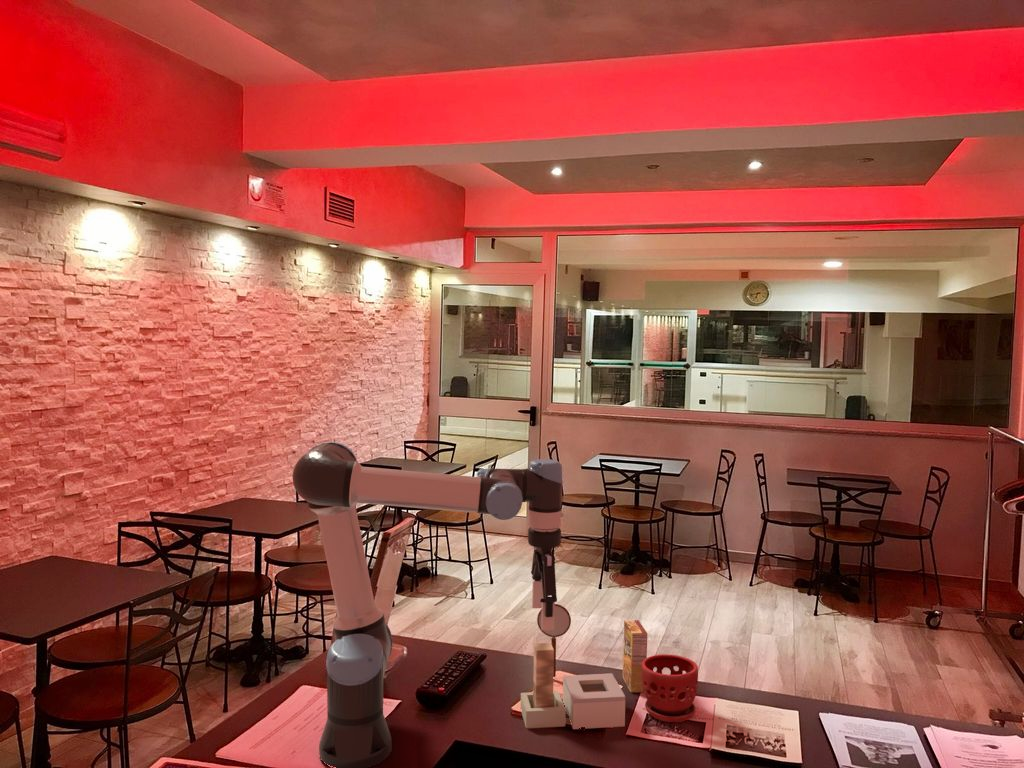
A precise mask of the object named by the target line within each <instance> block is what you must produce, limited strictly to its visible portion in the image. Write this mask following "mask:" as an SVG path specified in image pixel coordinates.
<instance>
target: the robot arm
mask: <svg viewBox="0 0 1024 768" xmlns="http://www.w3.org/2000/svg"><path fill="white" fill-rule="evenodd" d="M292 484H293V488H294V490H295V491H296V493H297V494H298V496H299V497H300V498H302V499H303V500H304V501H306V502H307V506H308V509H309V510H310V511H311V512H312V513H314V514H316V515H317V519H318V524H319V530H320V534H321V539H322V540H321V541H322V544H323V549H324V554H325V558H326V559H325V560H326V564H327V570H328V573H329V579H330V583H331V584H330V585H331V589H332V594H333V598H334V599H333V600H334V604H335V610H336V613H337V616H336V617H335V619H334V621H333V622H332V630H333V633H334V635H333V636H334V638H335V641H333V642H332V643H331V645H330V646H329V648H328V649H327V655H326V656H327V657H326V660H325V666H326V667H325V668H326V691H327V692H326V697H327V699H326V701H327V703H326V704H327V705H326V706H327V709H326V710H327V716H326V717H327V718H326V721H325V724H324V728H323V731H322V735H321V737H320V741H319V745H318V756H319V755H320V757H319V759H320V758H321V759H322V761H323V762H325V763H326V764H328V765H330V766H333V767H336V768H366V767H369V766H373V765H375V766H377V765H379V764H381V763H382V762H383V760H384V761H385V760H386V759H387V758H388V757H389V756H390V755H391V753H390V752H392V749H393V748H392V736H391V731H390V730H389V729H390V728H389V727H388V723H387V720H386V718H385V716H384V715H385V714H384V676H385V673H386V669H387V665H388V662H389V659H390V656H391V655H392V654H391V653H392V650H393V635H392V632H391V629H390V627H389V625H388V624H387V623H386V619H385V612H384V610H383V609H382V608H380V607H378V606H376V602H375V598H374V593H373V588H372V584H371V583H372V582H371V578H370V574H369V573H370V572H369V569H368V568H369V566H368V563H367V558H366V553H365V547H364V543H363V538H362V532H361V528H360V524H359V519H358V518H359V517H358V512H357V507H356V505H358V504H365V505H366V504H368V505H378V506H379V505H380V506H392V507H401V508H402V507H403V508H415V509H426V510H435V511H436V510H437V511H438V510H439V511H449V512H450V511H451V512H462V513H473V514H483V515H491V516H492V517H493V518H495V519H497V520H503V521H507V520H510V519H513V518H514V517H516V516H517V515H518V514H519V513H520V511H521V509H522V505H523V503H528V511H527V512H528V514H527V519H528V521H527V526H529V528H528V530H527V531H528V532H527V535H528V536H527V543H528V545H530V546H531V547H533V556H532V565H531V570H530V571H531V572H530V573H531V578H532V593H531V594H532V597H531V600H532V601H531V602H532V603H531V608H532V609H542V627H541V629H542V630H554V611H555V604H556V603H558V597H557V582H556V557H555V554H554V553H553V552H552V549H554V548H557V547H559V546H560V545H561V542H562V530H561V526H562V519H561V518H564V516H565V515H564V513H563V512H562V508H563V507H562V505H563V503H562V502H563V484H564V483H563V465H562V463H561V462H560V461H558V460H555V459H551V458H550V459H548V458H539V459H538V458H537V459H533V460H531V461H530V462H529V466H528V468H494V467H490V468H480V469H479V470H477V474H476V476H470V475H458V474H448V473H437V472H425V471H414V470H403V469H402V470H401V469H391V468H383V467H382V468H381V467H373V466H372V467H370V466H363V465H361V463H360V462H359V461H358V460H357V457H356V455H355V453H354V452H353V450H351V449H350V448H349V447H348V446H347V445H345V444H344V443H340V442H336V441H326V442H322V443H320V444H319V443H318V444H316V445H314V446H313V447H312V448H311V449H310V450H309V451H308V452H306V453H305V454H303V455H302V456H301V457H300V458H299V459H298V460H297V462H296V463H295V466H294V468H293V471H292ZM322 761H321V762H322ZM380 762H381V763H380ZM378 763H379V764H378ZM376 764H377V765H376ZM373 767H374V766H373Z"/></svg>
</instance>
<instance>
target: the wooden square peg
mask: <svg viewBox="0 0 1024 768" xmlns="http://www.w3.org/2000/svg"><path fill="white" fill-rule="evenodd" d="M553 675H554V649H553V647H552V644H551V642H540V643H539V642H538V643H537V642H536V643H533V683H532V684H533V686H532V687H533V689H532V691H533V708H546V707H553V691H554V680H553Z"/></svg>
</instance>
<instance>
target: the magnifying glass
mask: <svg viewBox="0 0 1024 768" xmlns="http://www.w3.org/2000/svg"><path fill="white" fill-rule="evenodd" d="M536 621H537V622H536V623H537V626H538V628H539V630H540V631H541V633H543V634H544V635H546V636H547V637H550V638H551V642H550V643H551V644H552V647H553V649H554V675H553V677H556V667H557V663H556V662H557V656H556V655H557V638H558V637H561V636H563V635H565V634H566V633H567V632H568V631H569V629H570V627H571V624H572V619H571V614H570V612H569V611H568V609H566V607H565V606H563V605H561V604H560V603H559V604H558V603H555V611H554V630H542V629H541V627H542V608H540V610H539V611H538V615H537V619H536Z"/></svg>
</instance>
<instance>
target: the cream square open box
mask: <svg viewBox="0 0 1024 768" xmlns="http://www.w3.org/2000/svg"><path fill="white" fill-rule="evenodd" d="M521 709H522V712H521V715H522V719H523V723H524V726H525V729H541V728H558V727H559V728H560V727H566V709H565V707H564V704H563V698H561V695H560V692H559V690H553V707H546V708H533V692H531V691H529V692H520V710H521Z"/></svg>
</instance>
